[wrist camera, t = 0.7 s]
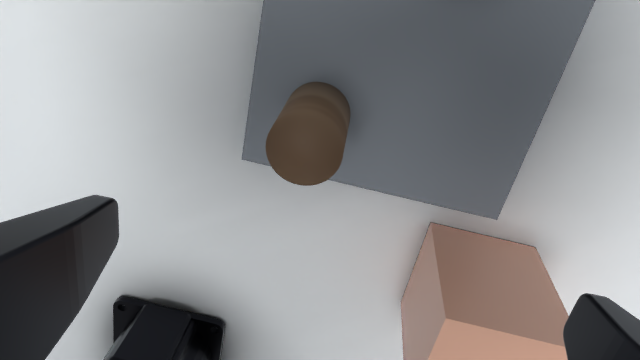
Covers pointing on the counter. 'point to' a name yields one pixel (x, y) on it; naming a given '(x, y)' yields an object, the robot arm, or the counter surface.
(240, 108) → the counter surface
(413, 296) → the terracotta colored cuboid
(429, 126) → the board
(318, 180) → the walnut post
